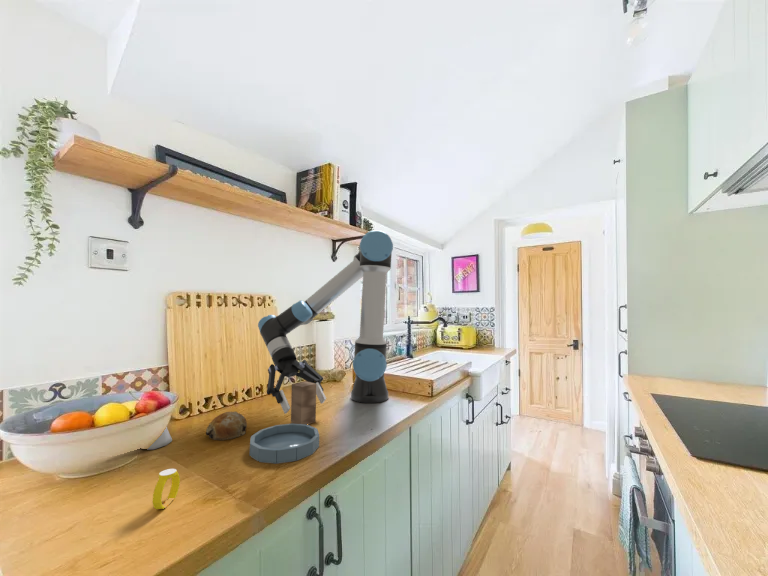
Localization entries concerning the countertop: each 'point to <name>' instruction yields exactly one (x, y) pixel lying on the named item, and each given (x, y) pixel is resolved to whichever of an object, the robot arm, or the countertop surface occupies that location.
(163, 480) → the watch
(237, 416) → the bread roll
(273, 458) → the dish
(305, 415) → the box
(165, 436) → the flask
